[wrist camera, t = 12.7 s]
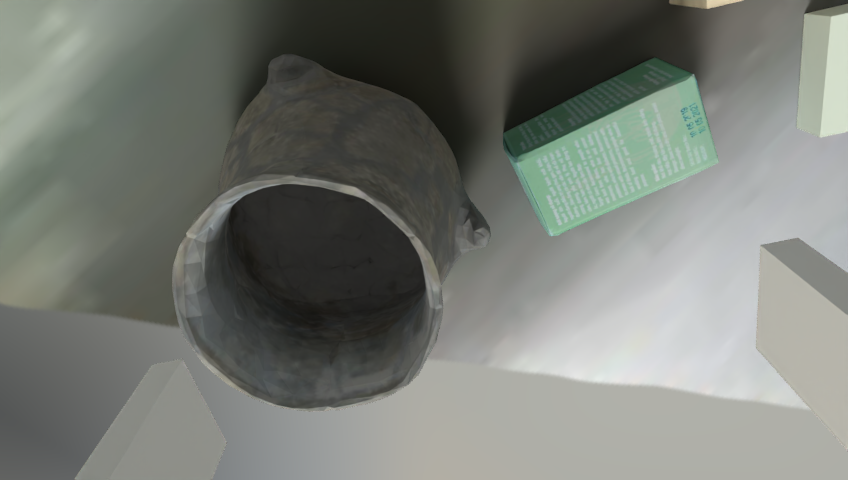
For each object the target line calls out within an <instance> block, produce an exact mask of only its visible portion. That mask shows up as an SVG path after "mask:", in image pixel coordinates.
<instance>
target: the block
mask: <svg viewBox="0 0 848 480" xmlns="http://www.w3.org/2000/svg"><path fill="white" fill-rule="evenodd" d="M738 1H742V0H669V4H674V5H681V6H689V7H696V8H703V9H709V8H713V7H717V6H721V5H726V4H730V3H734V2H738Z"/></svg>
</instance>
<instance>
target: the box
mask: <svg viewBox="0 0 848 480" xmlns="http://www.w3.org/2000/svg"><path fill="white" fill-rule="evenodd" d="M503 146H504V150H505V152H506V154H507V156H508V158H509V160H510V162H511V164H512V166H513V168H514V170H515V172H516V174H517V176H518V178H519V180H520V182H521V184H522V186H523V188H524V191H525V193H526V195H527V197H528V199H529V201H530V203H531V205H532V207H533V209H534V211H535V213H536V215H537V217H538V219H539V221H540V223H541V225H542V226H543V227H544V229H545V230H546V232H547V233H548V234H549V235H550V236H556V235H559V234H561V233H563V232H565V231H567V230H570V229H572V228H574V227H576V226H578V225H580V224H583V223H585V222H587V221H589V220H591V219H594V218H596V217H598V216H600V215H602V214H605V213H607V212H609V211H611V210H614V209H616V208H618V207H620V206H623V205H625V204H627V203H630V202H632V201H634V200H636V199H639V198H641V197H643V196H645V195H648V194H650V193H652V192H655V191H657V190H659V189H661V188H664V187H666V186H668V185H671V184H673V183H675V182H678V181H680V180H682V179H685V178H687V177H689V176H691V175H694V174H696V173H698V172H700V171H703V170H705V169H707V168H709V167H711V166H713V165H714V164H716V163H718V162H719V160H718V156H717V153H716V149H715V145H714V142H713V138H712V135H711V131H710V128H709V124H708V120H707V117H706V113H705V110H704V106H703V103H702V99H701V95H700V92H699V88H698V84H697V80H696V78H695V76H694V74H692V73H690V72H688V71H685V70H683V69H681V68H679V67H676V66H674V65H672V64H670V63H668V62H665V61H663V60H661V59H659V58H657V57H655V58H653V59H650V60H648V61H646V62H644V63H642V64H640V65H638V66H635V67H633V68H631V69H629V70H627V71H625V72H623V73H621V74H619V75H617V76H615V77H613V78H611V79H609V80H607V81H605V82H602V83H600V84H598V85H596V86H594V87H592V88H591V89H589V90H587V91H585V92H583V93H581V94H579V95H577V96H575V97H573V98H571V99H569V100H567V101H565V102H563V103H561V104H559V105H557V106H555V107H554V108H552V109H550V110H548V111H546V112H544V113H542V114H540V115H538V116H536V117H534V118H532V119H530V120H528V121H526V122H524V123H522V124H520V125H518V126H516V127H514V128H512V129H510V130H508V131H506V132H505V133H503Z"/></svg>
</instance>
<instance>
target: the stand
mask: <svg viewBox="0 0 848 480" xmlns="http://www.w3.org/2000/svg"><path fill="white" fill-rule="evenodd" d="M796 128H798V129H801V130H803V131H805V132H808V133H810V134H813V135H815V136H817V137H820V138H821V137H825V136H830V135H835V134H840V133H844V132H848V4H844V5H840V6H836V7H831V8H827V9H823V10H818V11H814V12H810V13H806V14H804V28H803V42H802V56H801V70H800V84H799V98H798V113H797V127H796Z"/></svg>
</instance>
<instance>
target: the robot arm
mask: <svg viewBox="0 0 848 480" xmlns="http://www.w3.org/2000/svg"><path fill="white" fill-rule="evenodd" d="M756 349H757V350H758V351H759V352H760V353H761V354H762V355H763V357H764V358H765V359H766V360H767V361H768V362H769V363H770V364H771V366H772V367H773V368H774V369H775V370H776V371H777V372H778V373H779V375H780V376H781V377H782V378H783V379H784V380H785V381H786V382H787V384H788V385H789V386H790V387H791V388H792V389H793V390H794V391H795V393H796V394H797V395H798V396H799V397H800V398H801V399H802V400H803V402H804V403H805V404H806V405H807V406H808V407H809V408H810V409H811V411H812V412H813V413H814V414H815V415H816V416H817V417H818V418H819V419H820V421H821V422H822V423H823V424H824V425H825V426H826V427H827V428H828V430H829V431H830V432H831V433H832V434H833V435H834V436H835V438H836V439H837V440H838V441H839V442H840V443H841V444H842V445H843V447H844V448H845V449H846V450H847V451H848V273H847V272H845V271H844V270H843V269H841V268H840V267H838V266H837V265H836V264H834V263H833V262H831V261H830V260H829V259H827V258H826V257H824V256H823V255H821V254H820V253H819V252H817V251H816V250H814V249H813V248H812V247H810V246H809V245H807V244H806V243H805V242H803V241H802V240H800V239H799V238H795V239H790V240H784V241H779V242H774V243H769V244H764V245H761V246H760V267H759V289H758V311H757V333H756ZM226 444H227V442H226V440H225V439H224V437H223V435H222V433H221V431H220V429H219V427H218V425H217V423H216V422H215V420H214V418H213V416H212V414H211V412H210V410H209V408H208V406H207V404H206V403H205V401H204V399H203V397H202V395H201V393H200V391H199V389H198V387H197V385H196V383H195V382H194V380H193V378H192V376H191V374H190V372H189V370H188V368H187V367H186V364H185V363H184V361H183V359H179V360H173V361H168V362H163V363H159V364H153V365H152V366H151V367H150V369H149V370H148V371H147V373H146V374H145V376H144V377H143V379H142V380H141V382H140V383H139V385H138V386H137V388H136V389H135V391H134V392H133V394H132V395H131V397H130V398H129V399H128V401H127V403H126V404H125V405H124V407H123V408H122V410H121V412H120V413H119V414H118V416H117V417H116V419H115V420H114V422H113V423H112V425H111V426H110V428H109V429H108V431H107V432H106V433H105V435H104V437H103V438H102V439H101V441H100V442H99V444H98V445H97V447H96V448H95V450H94V451H93V453H92V454H91V456H90V457H89V459H88V460H87V461H86V463H85V464H84V466H83V467H82V469H81V471H80V472H79V473H78V475H77V476H76V478H75V479H74V480H212V478H213V476H214V473H215V471H216V469H217V466H218V463H219V461H220V459H221V456H222V454H223V451H224V449H225V446H226Z"/></svg>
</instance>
